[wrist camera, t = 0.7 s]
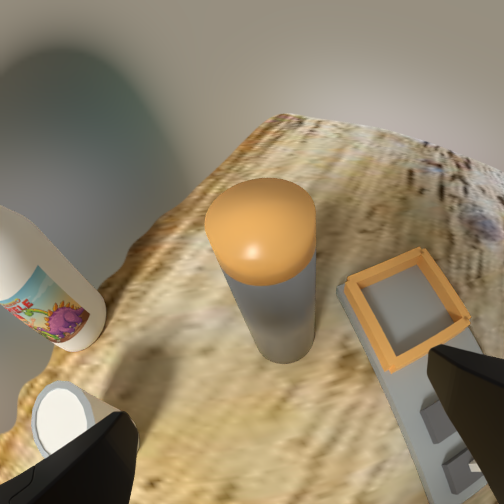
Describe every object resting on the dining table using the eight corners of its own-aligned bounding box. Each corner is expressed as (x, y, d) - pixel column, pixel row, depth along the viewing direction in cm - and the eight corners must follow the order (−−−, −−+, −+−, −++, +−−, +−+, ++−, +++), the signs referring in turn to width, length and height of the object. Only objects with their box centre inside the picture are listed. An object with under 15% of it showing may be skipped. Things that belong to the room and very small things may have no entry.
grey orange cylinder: (322, 350, 22) (335, 233, 11) (265, 371, 22) (216, 275, 11) (301, 302, 25) (290, 167, 14) (248, 321, 25) (197, 197, 14)
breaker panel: (515, 451, 12) (544, 445, 8) (433, 515, 11) (456, 524, 8) (415, 259, 25) (427, 230, 22) (335, 293, 25) (339, 265, 22)
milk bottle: (63, 297, 30) (-45, 176, 15) (112, 285, 30) (0, 138, 14) (53, 355, 25) (-86, 240, 10) (105, 351, 25) (-53, 207, 9)
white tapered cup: (138, 396, 22) (89, 373, 16) (153, 470, 18) (102, 470, 12) (80, 406, 22) (29, 384, 16) (90, 473, 17) (34, 467, 12)
